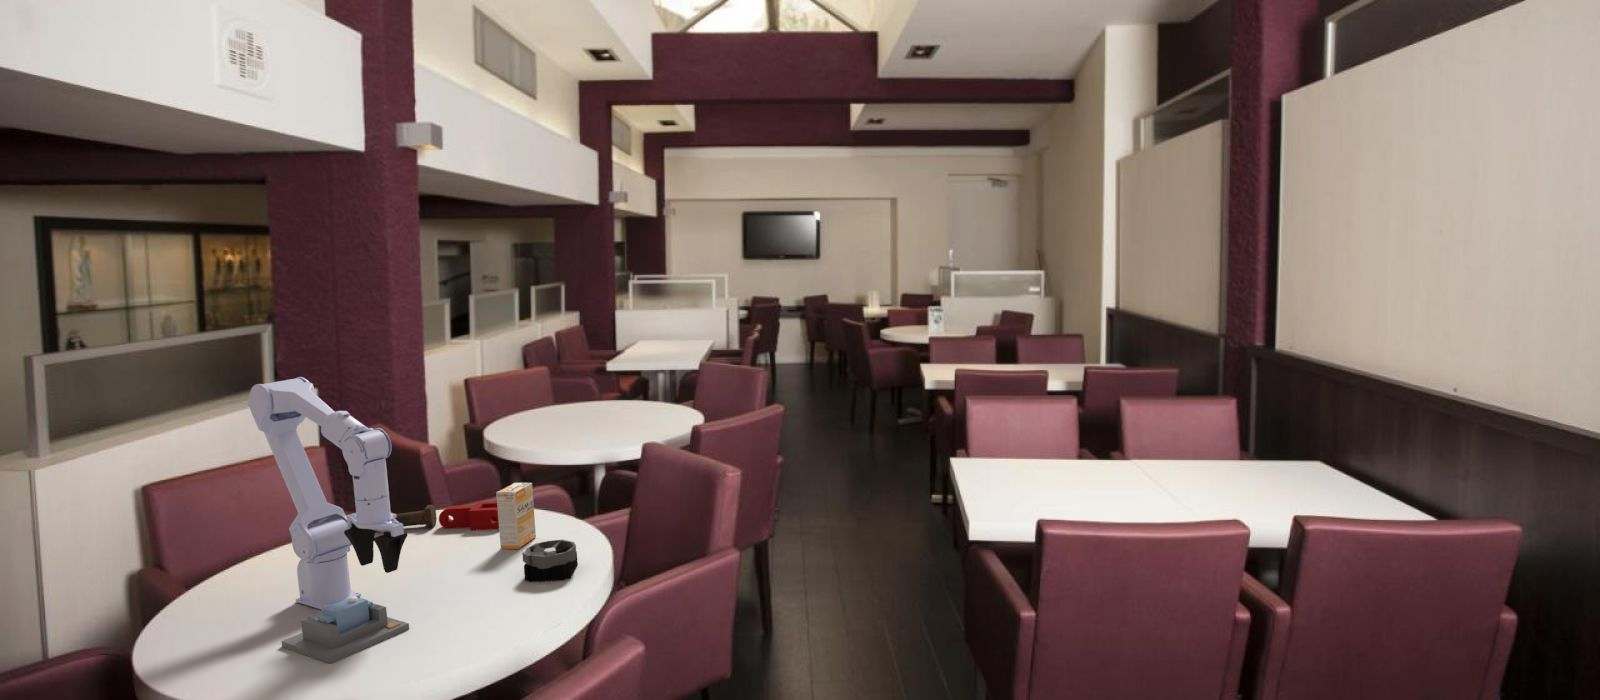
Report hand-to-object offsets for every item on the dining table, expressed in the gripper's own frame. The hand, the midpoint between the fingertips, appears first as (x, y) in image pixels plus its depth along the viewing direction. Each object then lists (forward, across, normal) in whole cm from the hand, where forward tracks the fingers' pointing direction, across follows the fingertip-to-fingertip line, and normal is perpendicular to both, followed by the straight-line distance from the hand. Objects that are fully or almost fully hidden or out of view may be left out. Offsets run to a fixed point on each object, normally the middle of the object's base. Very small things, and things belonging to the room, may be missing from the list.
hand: (378, 567), depth 173 cm
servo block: (+8, -4, +9) cm, 13 cm away
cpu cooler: (+9, -13, -29) cm, 33 cm away
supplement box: (+9, +8, -39) cm, 41 cm away
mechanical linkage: (+9, +28, -43) cm, 52 cm away
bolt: (+10, +43, -33) cm, 55 cm away
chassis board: (+9, -4, +10) cm, 14 cm away
